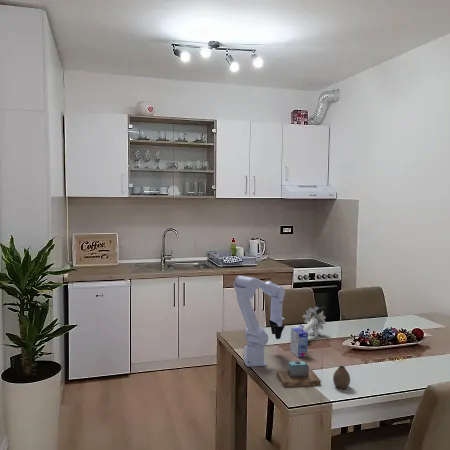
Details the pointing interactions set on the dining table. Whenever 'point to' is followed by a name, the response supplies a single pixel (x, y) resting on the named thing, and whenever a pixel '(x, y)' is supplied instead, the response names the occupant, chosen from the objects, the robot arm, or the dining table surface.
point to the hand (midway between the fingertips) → (276, 336)
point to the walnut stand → (298, 379)
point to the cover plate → (297, 363)
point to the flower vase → (313, 321)
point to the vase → (341, 378)
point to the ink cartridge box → (299, 342)
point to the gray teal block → (298, 371)
